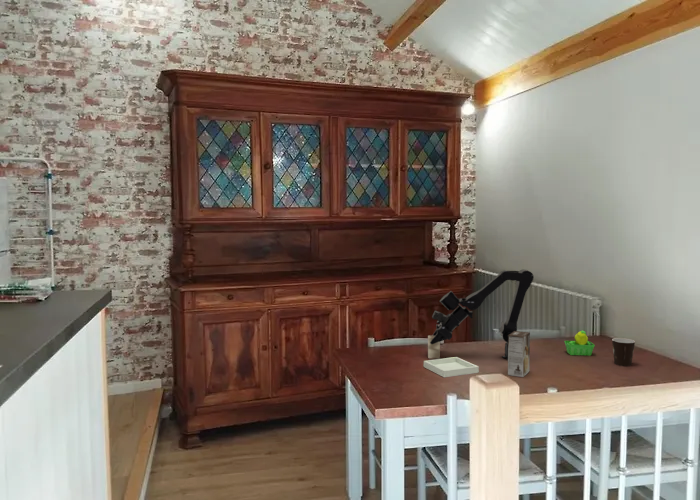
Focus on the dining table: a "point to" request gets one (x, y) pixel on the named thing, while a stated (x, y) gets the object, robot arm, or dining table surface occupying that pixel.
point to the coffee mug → (623, 351)
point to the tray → (451, 367)
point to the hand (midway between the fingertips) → (430, 342)
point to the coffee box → (518, 353)
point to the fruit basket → (580, 345)
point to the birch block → (433, 348)
